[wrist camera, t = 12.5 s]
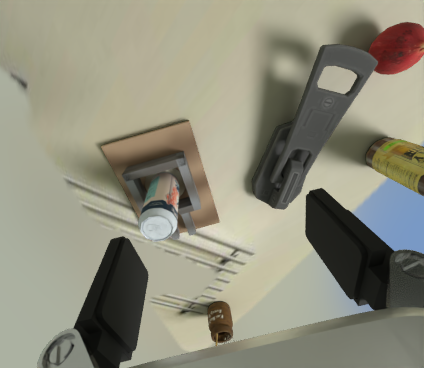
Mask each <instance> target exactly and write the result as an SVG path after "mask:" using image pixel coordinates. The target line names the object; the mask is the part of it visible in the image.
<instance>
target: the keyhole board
mask: <svg viewBox="0 0 424 368" xmlns="http://www.w3.org/2000/svg"><path fill="white" fill-rule="evenodd" d="M101 148H102V150H103V152H104V154H105V156H106V157H107V159H108V161H109V163H110V165H111V167H112V169H113V171H114V172H115V174H116V176H117V178H118V180H119V182H120V184H121V186H122V187H123V189H124V191H125V193H126V195H127V197H128V199H129V201H130V202H131V204H132V206H133V208H134V210H135V212H136V214H137V216H138V217H140V215H141V211H142V208H143V205H144V202H145V199H146V196H147V193H148V190H149V187H150V184H151V181H152V178H153V177H154V176H155V175H157V174H158V173H162V172H168V173H171V174H173V175H174V176H176V177H177V179H178V180H179V183H180V186H179V202H178V218H177V228H176V230H175V232H174V233H173V234H172V235H171V237H172V239H173V240H175V239H179V233H183V232H187V231H188V233H189V235H193V234H196V230H195V229H197V228H201V227H205V226H208V225H212V224H216V223H219V218H218V214H217V211H216V208H215V204H214V201H213V198H212V195H211V191H210V188H209V185H208V181H207V178H206V175H205V171H204V168H203V165H202V162H201V158H200V155H199V152H198V148H197V145H196V142H195V138H194V135H193V132H192V128H191V125H190V122H189V120H188V121H184V122H181V123H177V124H174V125H170V126H167V127H164V128H160V129H157V130H153V131H150V132H146V133H143V134H139V135H136V136H132V137H129V138H125V139H122V140H118V141H115V142H111V143H108V144H104V145H102V146H101ZM151 241H152V240H151Z"/></svg>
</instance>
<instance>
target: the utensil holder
mask: <svg viewBox="0 0 424 368" xmlns="http://www.w3.org/2000/svg"><path fill="white" fill-rule="evenodd" d="M208 323H209V329H210V331H211V337H212V340H213V341H214V342H216V346H217V343H223V342H227V341H229V340H230V339H231V338H233V330H232V326H233V323H232V316H231V311H230V307H229V305H228V304H227V303H225V302H215V303H213V304H211V305H210V306H209V308H208ZM234 342H235V341H234Z"/></svg>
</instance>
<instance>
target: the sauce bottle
mask: <svg viewBox="0 0 424 368" xmlns="http://www.w3.org/2000/svg"><path fill="white" fill-rule="evenodd" d="M366 162H367V165H368V166H370V167H371V168H373V169H375V170H376V171H377V172H379V173H381V174H383V175H385V176H386V177H388V178H390V179H392V180H394V181H396V182H398V183H400V184H402V185H403V186H405V187H407V188H409V189H411V190H413V191H415V192H417V193H419V194H421V195H422V196H424V147H423V146H420V145H417V144H413V143H410V142H407V141H404V140H401V139H394V138H384V139H381V140H379V141H377V142H375V143H374V144H373V145H372V146H371V147H370V149H369V150H368V152H367V154H366Z"/></svg>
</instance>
